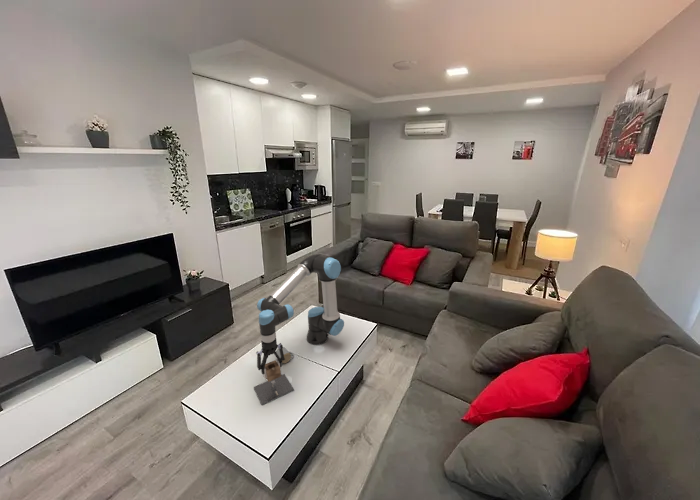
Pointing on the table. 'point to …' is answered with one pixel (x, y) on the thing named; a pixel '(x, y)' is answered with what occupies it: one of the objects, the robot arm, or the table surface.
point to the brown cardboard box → (272, 370)
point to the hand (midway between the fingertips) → (272, 374)
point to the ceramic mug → (285, 355)
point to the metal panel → (273, 389)
